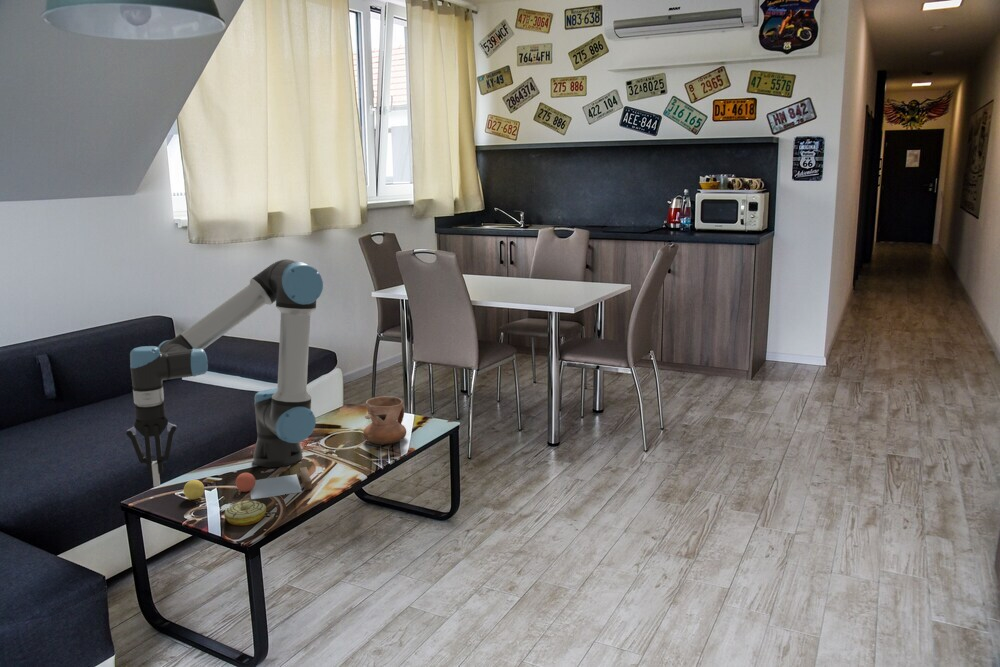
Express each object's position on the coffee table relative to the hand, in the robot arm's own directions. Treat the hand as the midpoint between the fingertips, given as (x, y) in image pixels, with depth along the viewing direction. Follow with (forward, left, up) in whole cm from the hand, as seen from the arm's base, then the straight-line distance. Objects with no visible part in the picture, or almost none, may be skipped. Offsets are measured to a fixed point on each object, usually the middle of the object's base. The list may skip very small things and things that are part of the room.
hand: (156, 484), depth 220 cm
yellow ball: (-9, 0, -3) cm, 10 cm away
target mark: (-31, 0, -6) cm, 32 cm away
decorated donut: (-22, +19, -6) cm, 30 cm away
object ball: (-23, 0, -3) cm, 24 cm away
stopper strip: (-40, 0, -6) cm, 41 cm away
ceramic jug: (-71, -27, -6) cm, 76 cm away
